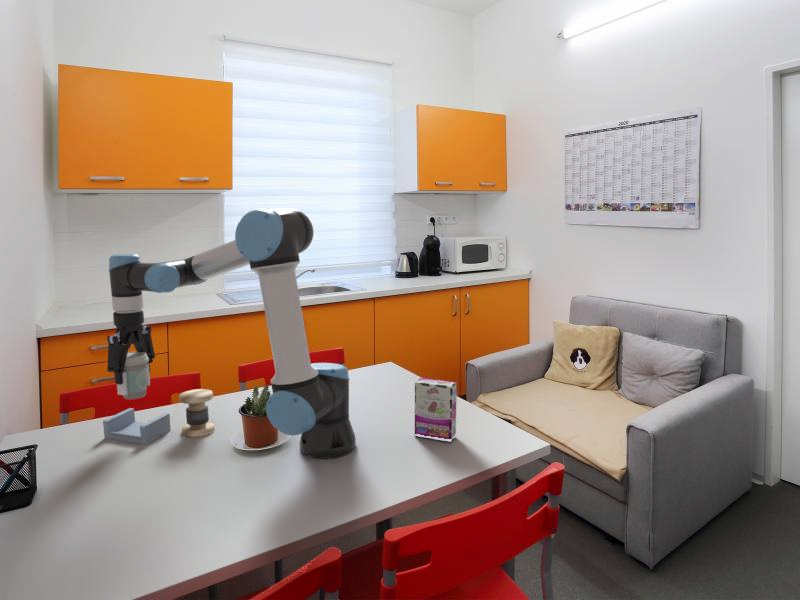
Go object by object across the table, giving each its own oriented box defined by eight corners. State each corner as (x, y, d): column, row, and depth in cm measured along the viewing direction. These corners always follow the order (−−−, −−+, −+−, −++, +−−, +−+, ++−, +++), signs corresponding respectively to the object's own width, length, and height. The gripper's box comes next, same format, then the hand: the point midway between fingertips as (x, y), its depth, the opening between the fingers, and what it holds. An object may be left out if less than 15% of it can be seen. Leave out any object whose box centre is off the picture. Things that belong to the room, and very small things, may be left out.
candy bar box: (456, 436, 156) (457, 381, 153) (451, 443, 151) (452, 387, 148) (419, 430, 160) (420, 376, 157) (413, 437, 155) (414, 381, 152)
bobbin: (221, 427, 161) (219, 390, 159) (201, 439, 153) (199, 401, 151) (195, 423, 164) (192, 387, 162) (174, 435, 155) (172, 397, 153)
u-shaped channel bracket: (131, 424, 162) (129, 408, 161) (170, 430, 158) (169, 413, 158) (104, 438, 153) (102, 420, 152) (145, 444, 149) (144, 426, 148)
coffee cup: (138, 402, 149) (135, 360, 147) (110, 399, 151) (107, 358, 148) (157, 392, 157) (155, 351, 155) (131, 389, 159) (128, 350, 157)
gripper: (144, 303, 160) (149, 377, 164) (86, 316, 141) (93, 400, 145) (165, 304, 158) (170, 379, 162) (109, 318, 139) (116, 403, 143)
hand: (134, 389), depth 153 cm, fingers closed on coffee cup, 8 cm apart
